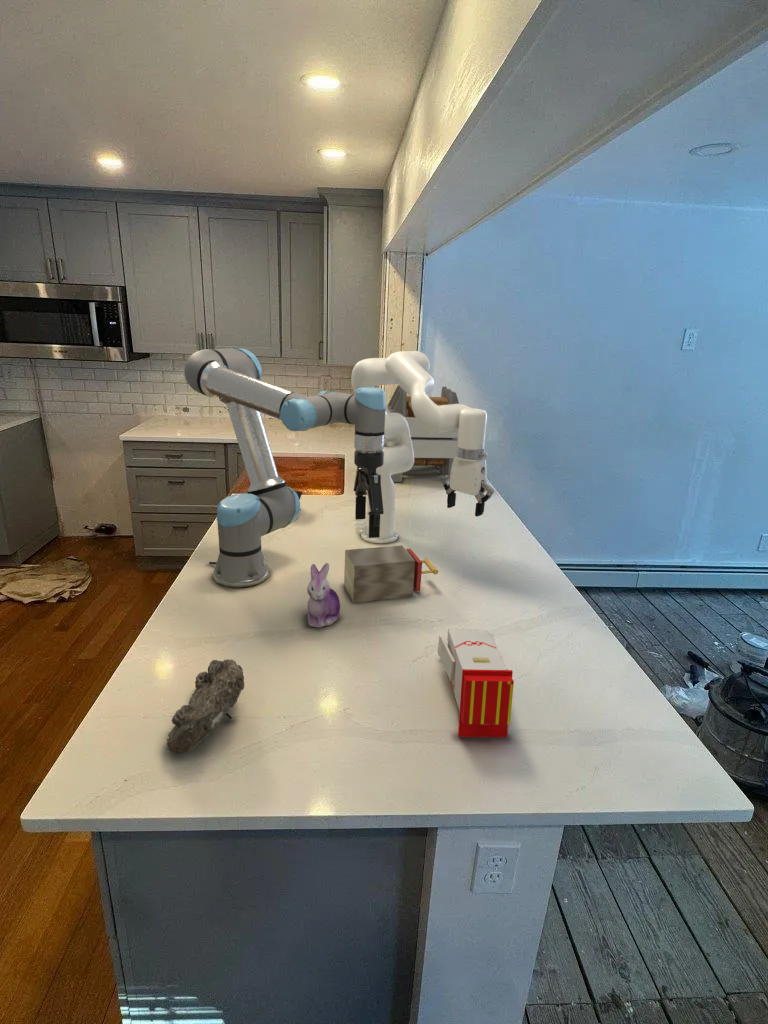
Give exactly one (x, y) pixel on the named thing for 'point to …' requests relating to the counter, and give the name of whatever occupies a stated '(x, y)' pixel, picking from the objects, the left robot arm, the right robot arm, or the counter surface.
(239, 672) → the fossil
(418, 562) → the drawer
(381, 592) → the cabinet
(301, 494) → the figurine character
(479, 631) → the toy
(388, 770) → the counter surface
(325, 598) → the figurine
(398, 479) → the transformer
